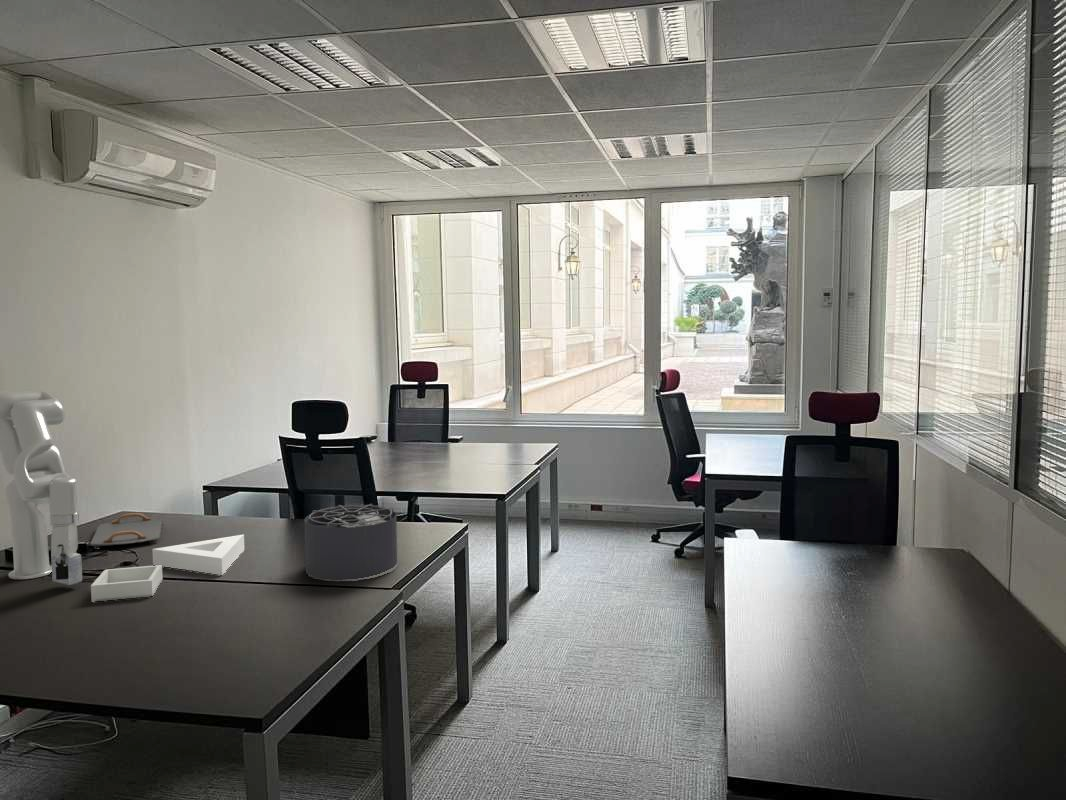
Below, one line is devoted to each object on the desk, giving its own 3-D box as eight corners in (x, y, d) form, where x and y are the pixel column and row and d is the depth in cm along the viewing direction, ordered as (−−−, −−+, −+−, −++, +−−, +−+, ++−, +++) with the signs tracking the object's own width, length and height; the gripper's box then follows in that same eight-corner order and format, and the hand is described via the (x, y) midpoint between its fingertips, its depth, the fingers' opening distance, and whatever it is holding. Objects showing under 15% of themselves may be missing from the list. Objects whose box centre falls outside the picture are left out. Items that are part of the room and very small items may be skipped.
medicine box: (82, 581, 233) (81, 553, 233) (68, 585, 229) (67, 557, 228) (65, 577, 237) (64, 550, 236) (51, 581, 233) (50, 553, 232)
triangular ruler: (153, 567, 256) (152, 549, 255) (212, 547, 280) (211, 530, 279) (222, 577, 244) (221, 558, 244) (278, 555, 268) (277, 538, 268)
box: (105, 585, 235) (105, 569, 235) (162, 580, 240) (161, 564, 239) (91, 602, 220) (90, 585, 220) (152, 597, 225) (151, 580, 224)
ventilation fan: (412, 505, 261) (370, 526, 232) (413, 558, 263) (372, 585, 234) (333, 500, 269) (284, 520, 240) (335, 552, 271) (286, 578, 242)
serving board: (100, 529, 306) (99, 514, 306) (163, 523, 316) (163, 508, 315) (88, 554, 271) (87, 537, 271) (160, 546, 281) (159, 530, 280)
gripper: (59, 512, 238) (61, 566, 240) (41, 526, 222) (43, 584, 223) (86, 510, 240) (88, 564, 242) (70, 525, 224) (72, 582, 226)
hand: (67, 574), depth 233 cm, fingers closed on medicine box, 8 cm apart
